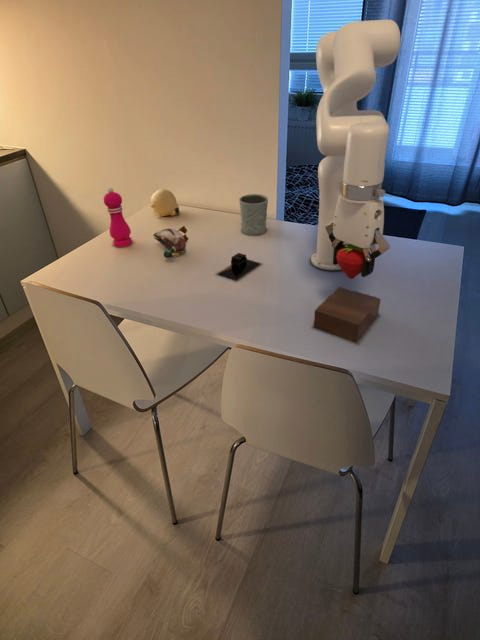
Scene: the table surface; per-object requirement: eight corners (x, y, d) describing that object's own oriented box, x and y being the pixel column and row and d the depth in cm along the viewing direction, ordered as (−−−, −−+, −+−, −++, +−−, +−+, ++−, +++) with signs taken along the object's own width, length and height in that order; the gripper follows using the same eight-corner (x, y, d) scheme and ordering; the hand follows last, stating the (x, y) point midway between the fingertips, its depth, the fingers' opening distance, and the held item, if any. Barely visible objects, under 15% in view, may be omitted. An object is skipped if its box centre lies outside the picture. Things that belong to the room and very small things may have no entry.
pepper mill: (137, 241, 149) (125, 186, 137) (122, 249, 144) (109, 192, 132) (123, 238, 152) (110, 183, 141) (108, 245, 147) (94, 189, 136)
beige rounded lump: (169, 227, 168) (186, 207, 165) (145, 208, 161) (163, 188, 159) (166, 218, 176) (183, 199, 173) (144, 200, 169) (160, 180, 166)
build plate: (236, 281, 121) (235, 267, 118) (217, 274, 125) (215, 261, 122) (260, 264, 129) (259, 250, 126) (241, 258, 133) (241, 245, 130)
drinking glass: (242, 225, 156) (241, 194, 149) (269, 225, 155) (269, 193, 148) (239, 236, 148) (237, 203, 141) (267, 236, 146) (266, 203, 140)
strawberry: (363, 288, 91) (369, 246, 85) (330, 281, 94) (334, 240, 88) (370, 276, 95) (376, 235, 89) (338, 270, 98) (342, 230, 92)
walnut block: (337, 303, 108) (338, 286, 105) (377, 315, 103) (380, 298, 100) (313, 327, 100) (314, 310, 97) (356, 342, 94) (358, 324, 91)
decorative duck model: (174, 248, 127) (133, 241, 132) (177, 268, 132) (138, 261, 137) (195, 225, 137) (156, 220, 142) (198, 245, 142) (160, 239, 147)
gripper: (410, 195, 79) (395, 276, 89) (339, 178, 91) (333, 251, 101) (386, 205, 75) (373, 288, 85) (316, 186, 87) (312, 261, 97)
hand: (352, 268), depth 93 cm, fingers closed on strawberry, 7 cm apart
